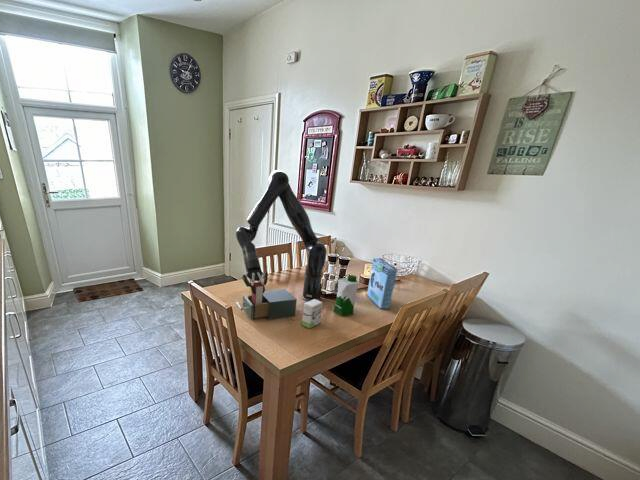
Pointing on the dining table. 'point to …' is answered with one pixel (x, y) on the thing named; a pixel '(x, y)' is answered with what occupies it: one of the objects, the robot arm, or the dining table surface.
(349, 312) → the milk carton
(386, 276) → the light blue box
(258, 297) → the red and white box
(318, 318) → the ink box
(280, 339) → the dining table surface
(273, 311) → the cabinet
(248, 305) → the drawer
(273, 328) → the dining table surface
